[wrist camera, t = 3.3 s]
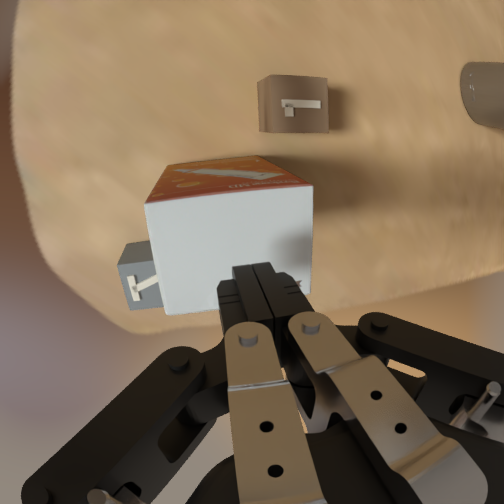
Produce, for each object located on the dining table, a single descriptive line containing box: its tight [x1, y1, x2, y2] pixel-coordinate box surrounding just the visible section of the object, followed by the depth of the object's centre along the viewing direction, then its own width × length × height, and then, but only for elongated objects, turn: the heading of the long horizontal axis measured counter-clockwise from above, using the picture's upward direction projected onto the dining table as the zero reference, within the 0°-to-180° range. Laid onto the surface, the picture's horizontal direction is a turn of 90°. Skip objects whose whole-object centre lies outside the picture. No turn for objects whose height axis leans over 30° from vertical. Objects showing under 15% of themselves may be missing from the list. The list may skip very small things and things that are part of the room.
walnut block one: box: [257, 75, 329, 133], centre depth 21 cm, size 4×4×5 cm
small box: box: [144, 156, 313, 315], centre depth 20 cm, size 8×6×13 cm
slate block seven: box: [117, 241, 164, 310], centre depth 25 cm, size 4×4×5 cm
